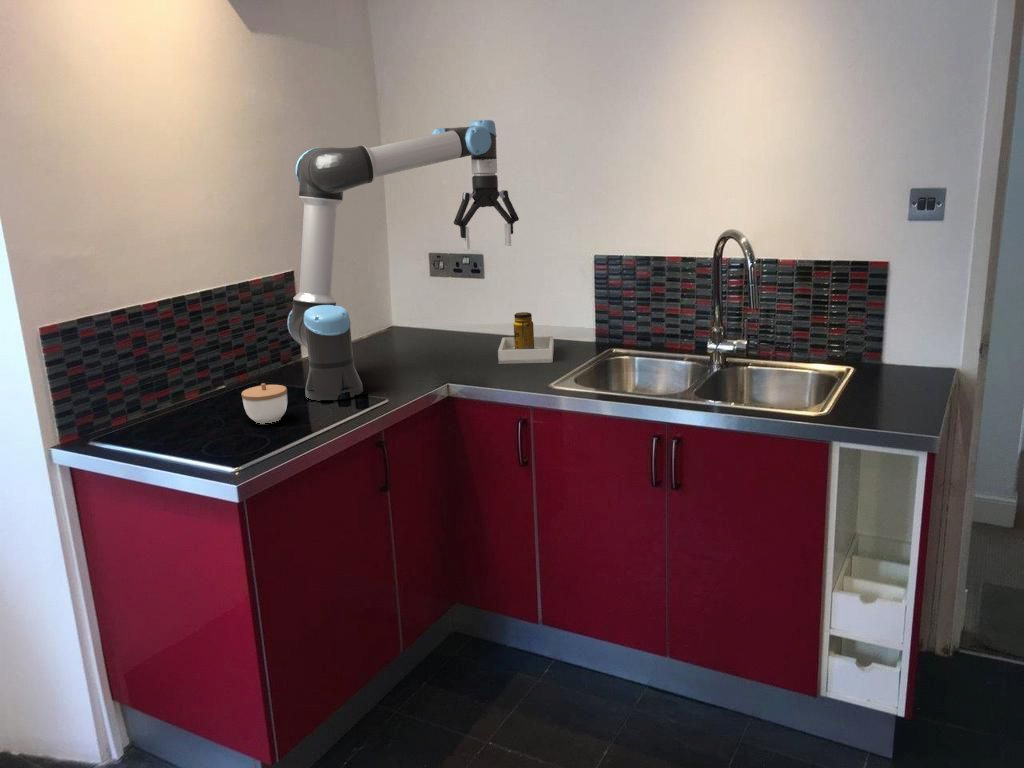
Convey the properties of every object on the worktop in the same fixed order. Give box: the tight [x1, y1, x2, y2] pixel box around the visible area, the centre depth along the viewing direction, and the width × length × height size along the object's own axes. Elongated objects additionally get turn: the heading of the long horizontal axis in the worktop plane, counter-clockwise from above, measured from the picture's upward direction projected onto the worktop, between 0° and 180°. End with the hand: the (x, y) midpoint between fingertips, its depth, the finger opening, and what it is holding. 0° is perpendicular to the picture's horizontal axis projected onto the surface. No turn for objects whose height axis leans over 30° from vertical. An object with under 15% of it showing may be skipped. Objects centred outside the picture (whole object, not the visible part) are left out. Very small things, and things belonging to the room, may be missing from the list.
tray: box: [497, 335, 555, 365], centre depth 272 cm, size 16×18×4 cm
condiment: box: [513, 311, 537, 349], centre depth 273 cm, size 7×8×12 cm
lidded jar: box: [241, 382, 288, 425], centre depth 219 cm, size 11×11×9 cm
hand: (487, 247), depth 268 cm, fingers open, 13 cm apart
